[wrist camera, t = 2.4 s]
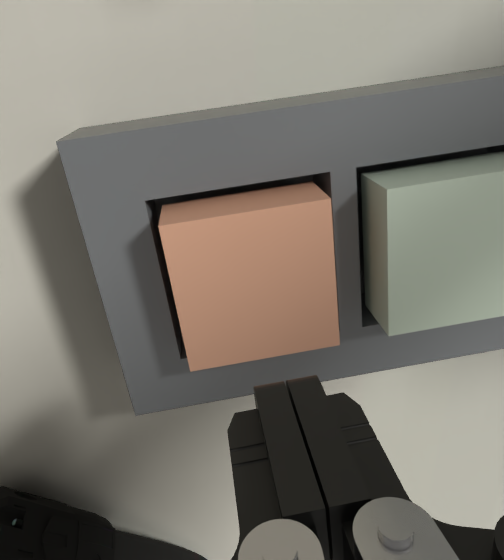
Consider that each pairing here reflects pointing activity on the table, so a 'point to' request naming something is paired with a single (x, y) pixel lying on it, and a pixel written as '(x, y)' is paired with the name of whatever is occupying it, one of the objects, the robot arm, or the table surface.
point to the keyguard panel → (259, 175)
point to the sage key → (434, 243)
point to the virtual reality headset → (70, 534)
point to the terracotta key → (252, 273)
